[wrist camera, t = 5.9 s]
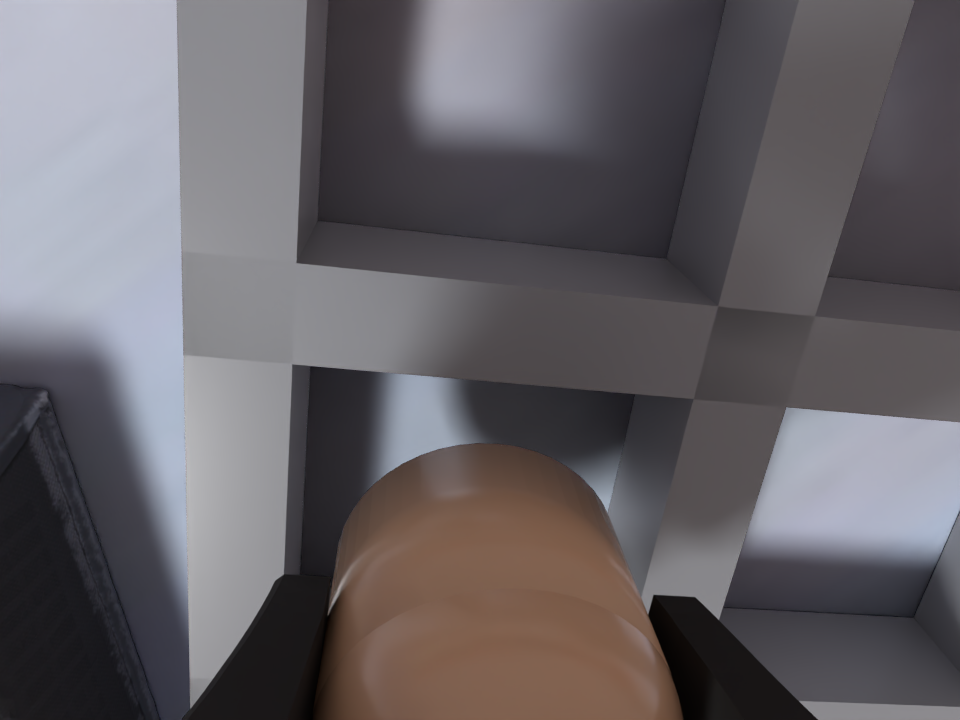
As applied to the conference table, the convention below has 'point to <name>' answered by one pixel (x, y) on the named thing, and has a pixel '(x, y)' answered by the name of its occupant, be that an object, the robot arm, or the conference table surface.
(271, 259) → the egg crate
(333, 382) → the conference table surface
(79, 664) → the external hard drive
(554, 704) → the tan bulbous object
